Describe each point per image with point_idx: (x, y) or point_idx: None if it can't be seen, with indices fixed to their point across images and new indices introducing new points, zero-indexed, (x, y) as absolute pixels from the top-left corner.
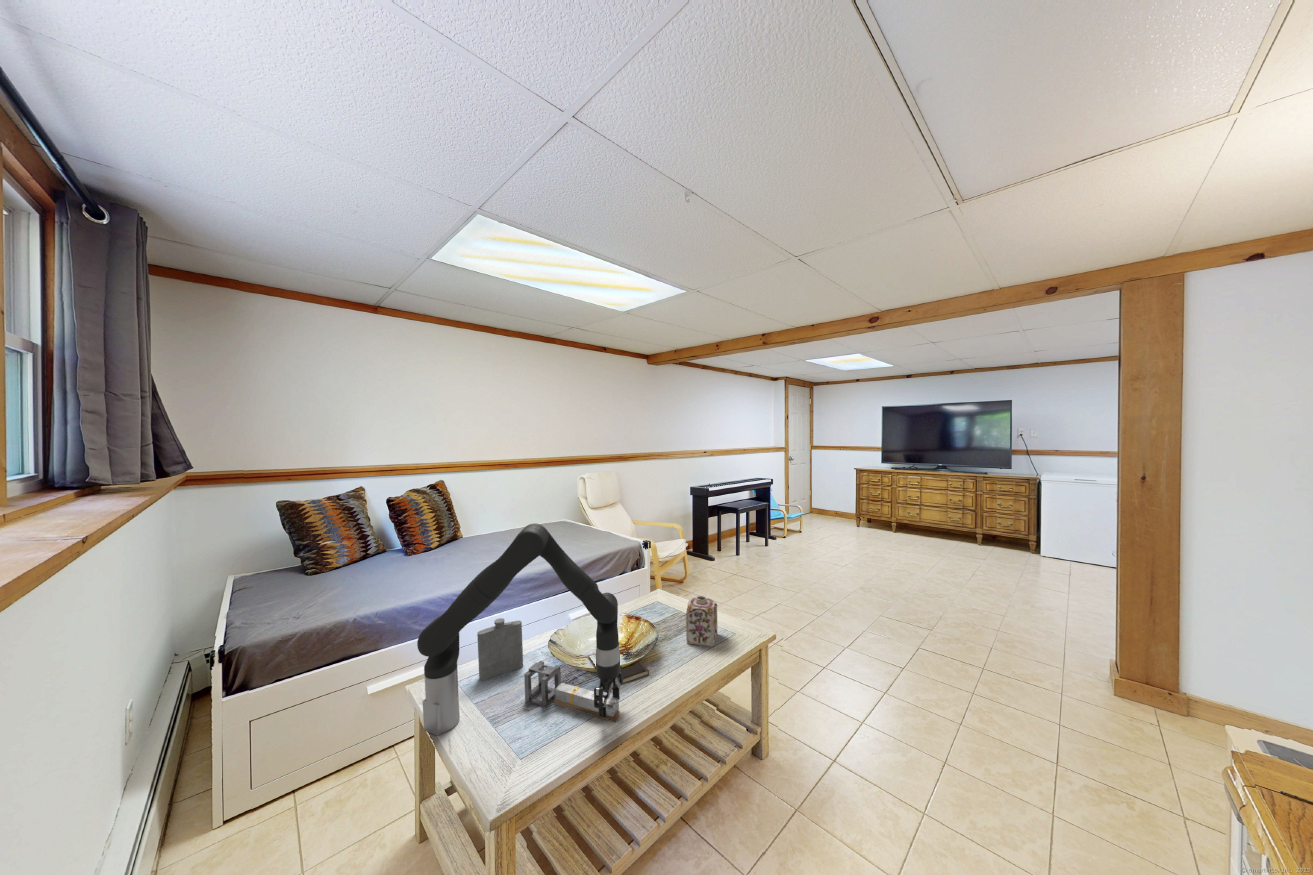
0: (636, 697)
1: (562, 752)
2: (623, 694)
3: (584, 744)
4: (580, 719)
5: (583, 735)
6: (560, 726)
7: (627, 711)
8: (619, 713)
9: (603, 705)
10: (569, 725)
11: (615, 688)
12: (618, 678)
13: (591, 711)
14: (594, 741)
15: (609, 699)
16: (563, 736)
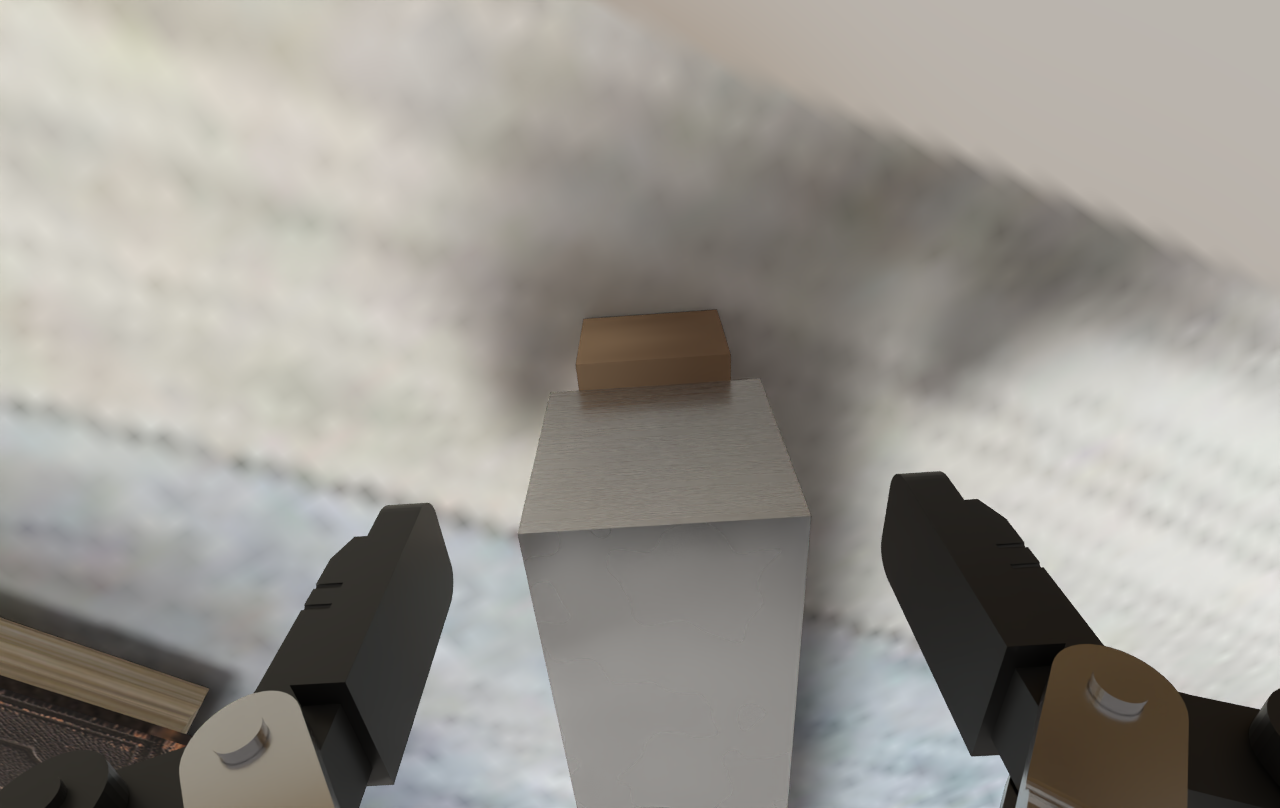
0: (45, 314)
1: None
2: (168, 510)
3: (1224, 449)
4: (829, 672)
5: (1067, 533)
6: None
7: (410, 272)
8: (584, 343)
9: (1183, 717)
10: (944, 704)
11: (349, 757)
12: (12, 712)
13: None
14: (1161, 371)
15: (649, 659)
16: None
